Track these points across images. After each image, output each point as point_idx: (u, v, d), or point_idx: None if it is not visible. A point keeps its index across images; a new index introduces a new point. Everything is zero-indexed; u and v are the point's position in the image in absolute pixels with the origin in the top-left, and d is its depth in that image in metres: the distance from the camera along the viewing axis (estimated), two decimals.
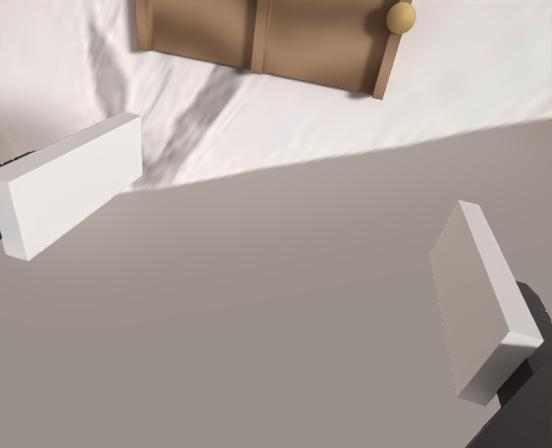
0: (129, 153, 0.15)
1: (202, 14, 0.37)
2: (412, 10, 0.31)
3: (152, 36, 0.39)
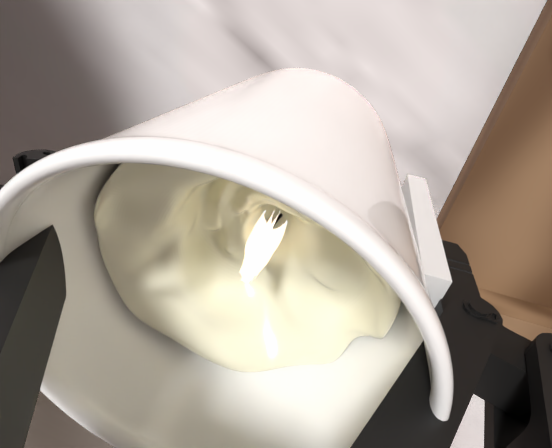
0: None
1: None
2: None
3: None
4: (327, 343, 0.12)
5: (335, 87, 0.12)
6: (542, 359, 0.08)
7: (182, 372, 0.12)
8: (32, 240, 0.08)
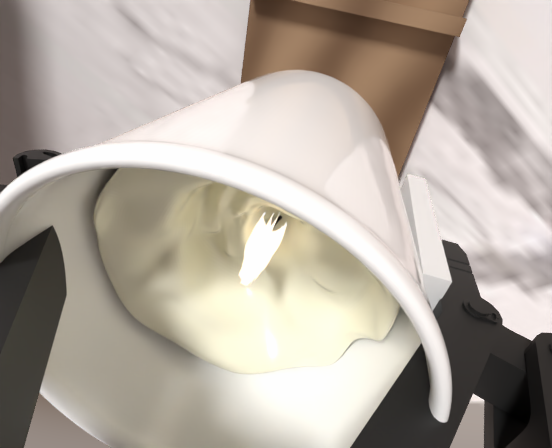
0: None
1: None
2: None
3: None
4: (327, 345, 0.12)
5: (334, 89, 0.13)
6: (542, 359, 0.08)
7: (181, 374, 0.12)
8: (33, 240, 0.08)
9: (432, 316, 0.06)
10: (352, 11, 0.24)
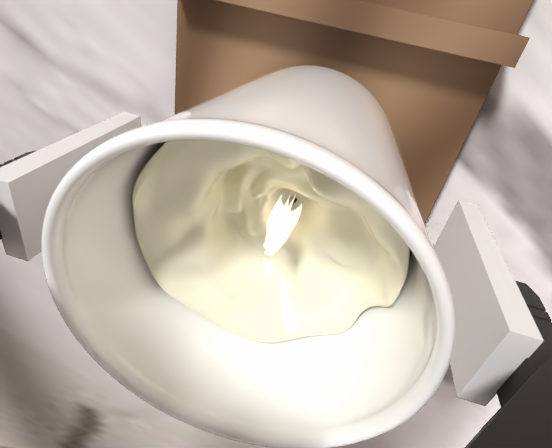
0: None
1: None
2: None
3: None
4: (339, 315, 0.13)
5: (345, 82, 0.14)
6: None
7: (207, 343, 0.13)
8: None
9: (439, 261, 0.07)
10: (334, 23, 0.14)
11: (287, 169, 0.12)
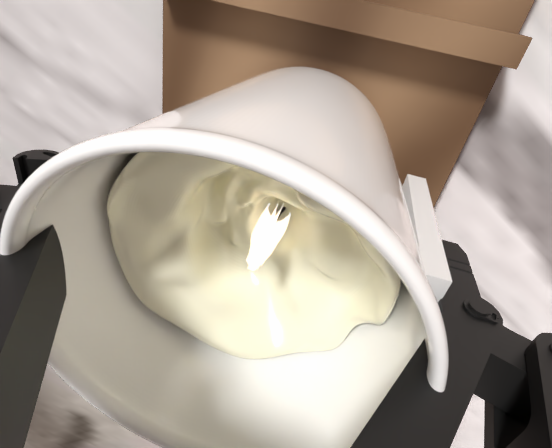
0: None
1: None
2: None
3: None
4: (329, 330, 0.13)
5: (336, 85, 0.13)
6: (542, 359, 0.08)
7: (189, 359, 0.13)
8: (32, 240, 0.08)
9: (430, 288, 0.06)
10: (327, 23, 0.13)
11: None
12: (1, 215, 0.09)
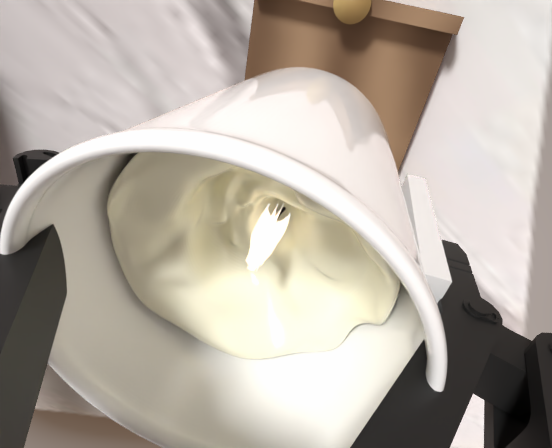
0: None
1: None
2: None
3: None
4: (329, 331, 0.13)
5: (336, 85, 0.13)
6: (542, 359, 0.08)
7: (189, 359, 0.13)
8: (33, 240, 0.08)
9: (428, 289, 0.06)
10: None
11: None
12: (1, 215, 0.09)
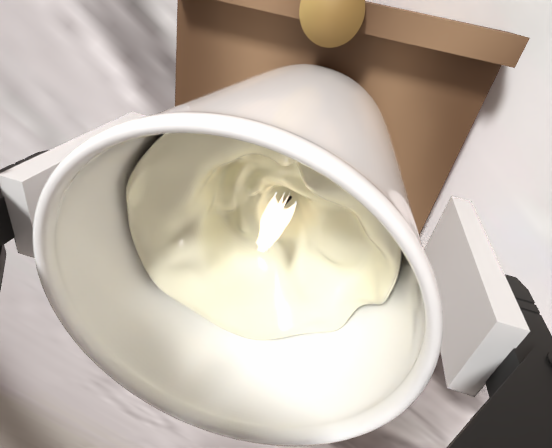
0: None
1: None
2: None
3: None
4: (333, 312, 0.13)
5: (340, 80, 0.14)
6: None
7: (200, 340, 0.14)
8: None
9: (426, 256, 0.07)
10: None
11: (281, 166, 0.12)
12: None
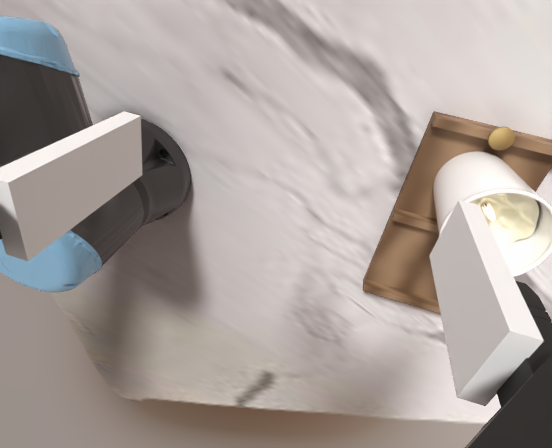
0: (129, 153, 0.15)
1: None
2: (498, 131, 0.39)
3: None
4: (503, 244, 0.39)
5: (504, 163, 0.39)
6: None
7: None
8: None
9: None
10: None
11: (492, 194, 0.37)
12: None
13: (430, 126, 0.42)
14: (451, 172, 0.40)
